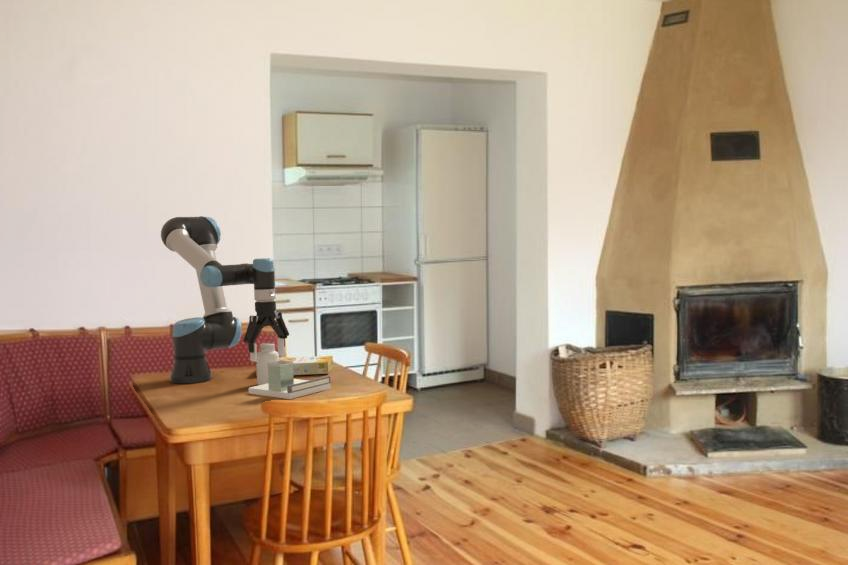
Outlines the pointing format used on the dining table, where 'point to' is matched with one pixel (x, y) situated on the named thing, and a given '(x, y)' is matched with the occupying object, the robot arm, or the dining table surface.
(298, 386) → the flat white tray
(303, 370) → the cereal box
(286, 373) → the tea tin
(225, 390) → the dining table surface
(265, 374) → the pill bottle
